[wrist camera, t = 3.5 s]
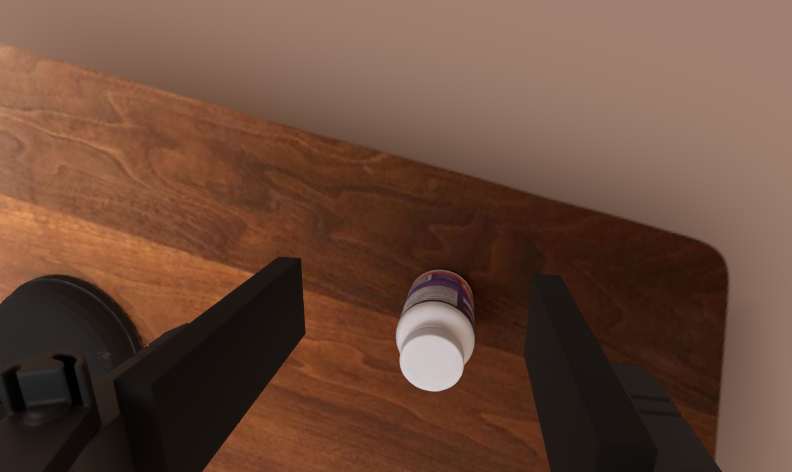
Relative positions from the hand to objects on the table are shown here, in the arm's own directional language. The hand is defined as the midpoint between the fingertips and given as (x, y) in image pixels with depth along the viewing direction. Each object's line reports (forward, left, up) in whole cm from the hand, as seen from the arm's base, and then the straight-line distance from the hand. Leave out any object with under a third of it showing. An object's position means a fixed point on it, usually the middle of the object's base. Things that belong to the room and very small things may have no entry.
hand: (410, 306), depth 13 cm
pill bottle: (0, +9, -20) cm, 22 cm away
